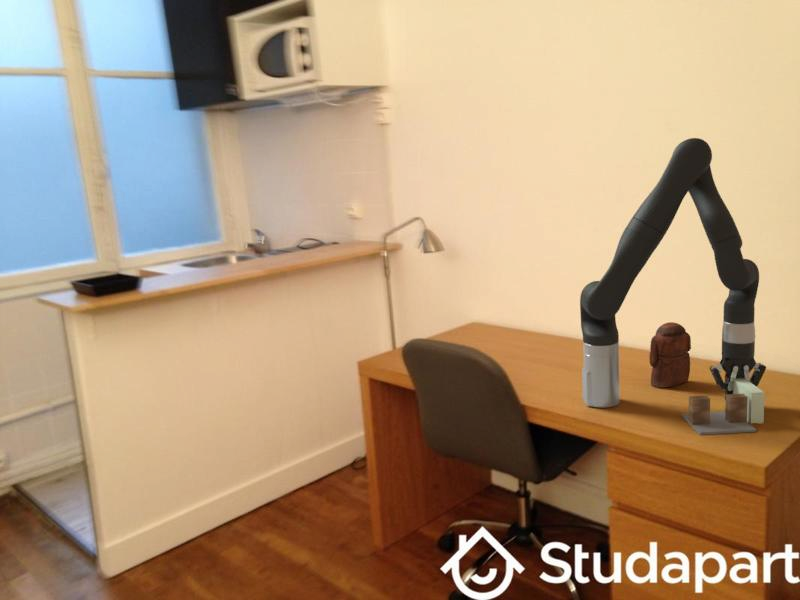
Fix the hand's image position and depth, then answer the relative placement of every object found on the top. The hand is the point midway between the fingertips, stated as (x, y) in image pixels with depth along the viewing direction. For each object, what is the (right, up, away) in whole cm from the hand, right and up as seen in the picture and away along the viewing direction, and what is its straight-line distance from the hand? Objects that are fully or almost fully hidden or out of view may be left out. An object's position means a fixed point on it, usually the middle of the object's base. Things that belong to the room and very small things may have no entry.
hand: (736, 402), depth 179 cm
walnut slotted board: (-9, -4, -9) cm, 14 cm away
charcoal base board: (-9, -4, -9) cm, 14 cm away
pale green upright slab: (0, -2, -4) cm, 5 cm away
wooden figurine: (-9, +2, +21) cm, 23 cm away
